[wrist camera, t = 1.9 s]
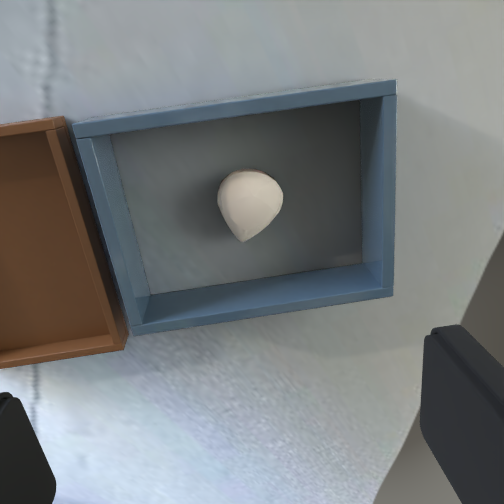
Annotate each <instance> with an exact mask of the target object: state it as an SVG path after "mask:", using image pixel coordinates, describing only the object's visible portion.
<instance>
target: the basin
mask: <svg viewBox="0 0 504 504" xmlns="http://www.w3.org/2000/svg"><path fill="white" fill-rule="evenodd" d="M396 94H397V79H366V80H358V81H351V82H344V83H337V84H329V85H322V86H315V87H307V88H300V89H293V90H286V91H278V92H271V93H264V94H257V95H249V96H242V97H235V98H228V99H220V100H213V101H206V102H198V103H191V104H184V105H177V106H169V107H162V108H155V109H148V110H140V111H133V112H126V113H119V114H111V115H104V116H97V117H91V118H88V119H85V120H82V121H79V122H76V123H73V124H72V128H73V131H74V134H75V138H76V142H77V145H78V149H79V152H80V156H81V159H82V162H83V166H84V169H85V173H86V176H87V179H88V183H89V186H90V190H91V193H92V197H93V200H94V203H95V207H96V210H97V214H98V217H99V220H100V224H101V227H102V231H103V234H104V238H105V241H106V244H107V248H108V251H109V255H110V258H111V262H112V265H113V268H114V272H115V275H116V279H117V282H118V285H119V289H120V292H121V296H122V299H123V303H124V306H125V309H126V313H127V316H128V320H129V323H130V326H131V330H132V333H133V336H138V335H145V334H151V333H158V332H164V331H171V330H177V329H184V328H190V327H197V326H203V325H209V324H216V323H222V322H229V321H235V320H242V319H248V318H255V317H261V316H268V315H274V314H281V313H287V312H294V311H300V310H307V309H313V308H320V307H326V306H333V305H339V304H346V303H352V302H358V301H365V300H371V299H378V298H384V297H391V296H393V286H394V237H395V186H396V135H397V95H396ZM354 100H360V154H361V218H362V263H361V264H354V265H347V266H341V267H334V268H328V269H321V270H314V271H308V272H301V273H295V274H288V275H281V276H275V277H268V278H262V279H255V280H248V281H242V282H235V283H229V284H222V285H215V286H209V287H202V288H196V289H189V290H182V291H176V292H169V293H163V294H156V295H151V294H150V290H149V286H148V282H147V278H146V275H145V271H144V267H143V263H142V259H141V255H140V251H139V247H138V244H137V240H136V236H135V232H134V228H133V224H132V220H131V217H130V213H129V209H128V205H127V201H126V197H125V193H124V189H123V186H122V182H121V178H120V174H119V170H118V166H117V162H116V159H115V155H114V151H113V147H112V143H111V139H110V134H117V133H124V132H132V131H139V130H146V129H153V128H160V127H167V126H175V125H182V124H189V123H196V122H203V121H211V120H218V119H225V118H232V117H239V116H247V115H254V114H261V113H268V112H275V111H282V110H290V109H297V108H304V107H311V106H318V105H326V104H333V103H340V102H347V101H354Z"/></svg>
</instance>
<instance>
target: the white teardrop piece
mask: <svg viewBox="0 0 504 504" xmlns="http://www.w3.org/2000/svg"><path fill="white" fill-rule="evenodd" d="M282 204H283V192H282V190H281V188H280V186H279V185H278V183H277V182H276V181H275V179H274V178H273V177H271V176H270V175H269V174H267V173H266V172H263V171H260V170H257V169H241V170H237V171H234V172H232V173H231V174H229V175H227V176H226V177H225V178H224V179H223V180H222V182H221V183H220V187H219V190H218V205H219V208H220V211H221V213H222V215H223V217H224V219H225V221H226V223H227V225H228V226H229V228H230V229H231V231H232V232H233V234H234V235H235V236H236V237H237V239H238V240H239V241H241V242H245V241H247V240H248V239H250V238H252V237H253V236H255V235H256V234H258V233H259V232H260V231H262V230H263V229H264V228H265V227H266V226H267V225H268V224H270V223H271V221H272V220H273V219H274V218H275V216H276V215H277V214H278V213H279V211H280V209H281V206H282Z"/></svg>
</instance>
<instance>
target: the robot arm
mask: <svg viewBox="0 0 504 504" xmlns="http://www.w3.org/2000/svg"><path fill="white" fill-rule="evenodd" d="M420 427H421V431H422V434H423V437H424V439H425V440H426V442H427V444H428V446H429V447H430V449H431V451H432V453H433V454H434V456H435V458H436V460H437V461H438V463H439V465H440V466H441V468H442V470H443V471H444V473H445V475H446V477H447V478H448V480H449V482H450V483H451V485H452V487H453V489H454V490H455V492H456V494H457V496H458V497H459V499H460V501H461V502H462V504H504V367H503V366H502V365H501V364H500V363H499V362H498V361H497V360H496V359H495V358H494V357H493V356H491V354H490V353H489V352H487V350H486V349H485V348H484V347H483V346H482V345H480V343H479V342H477V340H476V339H475V338H473V336H472V335H470V333H469V332H467V330H465V329H464V328H463V327H462V326H461V325H450V326H443V327H437V328H433V329H432V331H431V335H427V336H426V337H425V339H424V353H423V371H422V390H421V409H420ZM55 493H56V480H55V477H54V475H53V473H52V470H51V468H50V466H49V464H48V461H47V459H46V457H45V455H44V452H43V450H42V448H41V446H40V443H39V441H38V439H37V437H36V434H35V432H34V430H33V428H32V425H31V423H30V421H29V419H28V416H27V414H26V412H25V410H24V407H23V405H22V403H21V401H20V399H18V398H16V397H13V396H12V394H10V393H9V392H3V393H0V504H52V502H53V500H54V497H55Z"/></svg>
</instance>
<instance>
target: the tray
mask: <svg viewBox="0 0 504 504" xmlns="http://www.w3.org/2000/svg"><path fill="white" fill-rule="evenodd" d="M128 335H129V333H128V330H127V327H126V323H125V320H124V317H123V313H122V310H121V307H120V303H119V300H118V296H117V293H116V290H115V286H114V283H113V280H112V276H111V273H110V270H109V266H108V263H107V259H106V256H105V253H104V249H103V246H102V243H101V239H100V236H99V233H98V229H97V226H96V222H95V219H94V216H93V212H92V209H91V206H90V202H89V199H88V196H87V192H86V189H85V185H84V182H83V179H82V175H81V172H80V169H79V165H78V162H77V159H76V155H75V152H74V148H73V145H72V142H71V138H70V135H69V132H68V128H67V125H66V122H65V118H64V116H58V117H51V118H43V119H36V120H29V121H22V122H14V123H7V124H0V369H4V368H10V367H16V366H23V365H29V364H36V363H42V362H49V361H55V360H61V359H68V358H74V357H81V356H87V355H94V354H100V353H107V352H113V351H119V350H124V347H125V344H126V341H127V337H128Z"/></svg>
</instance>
